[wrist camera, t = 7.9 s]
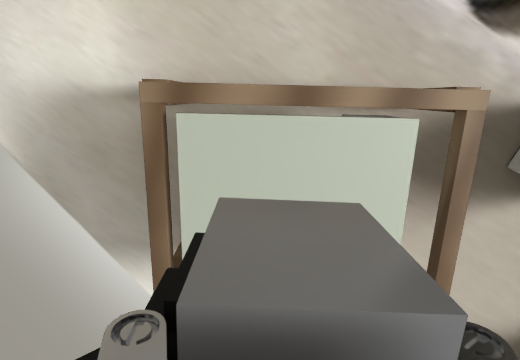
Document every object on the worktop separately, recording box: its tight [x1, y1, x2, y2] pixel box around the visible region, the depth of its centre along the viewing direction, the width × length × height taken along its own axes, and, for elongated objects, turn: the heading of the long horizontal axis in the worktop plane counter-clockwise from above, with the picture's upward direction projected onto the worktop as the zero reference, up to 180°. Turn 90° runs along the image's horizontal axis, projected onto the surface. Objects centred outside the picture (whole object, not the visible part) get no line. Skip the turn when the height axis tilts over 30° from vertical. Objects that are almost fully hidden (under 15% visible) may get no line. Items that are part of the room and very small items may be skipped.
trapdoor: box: [176, 113, 420, 260], centre depth 24 cm, size 15×13×5 cm
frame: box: [139, 79, 491, 295], centre depth 27 cm, size 22×17×11 cm
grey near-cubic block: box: [176, 197, 468, 360], centre depth 9 cm, size 5×5×6 cm
